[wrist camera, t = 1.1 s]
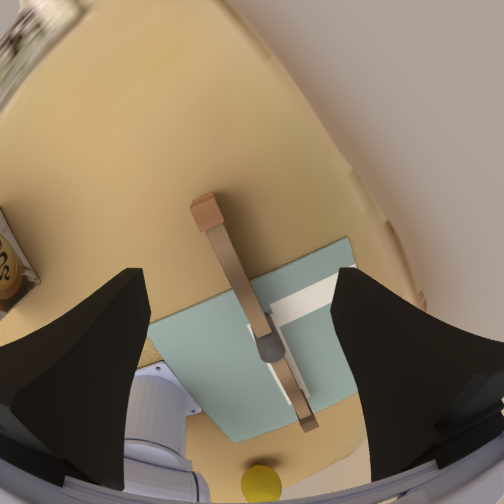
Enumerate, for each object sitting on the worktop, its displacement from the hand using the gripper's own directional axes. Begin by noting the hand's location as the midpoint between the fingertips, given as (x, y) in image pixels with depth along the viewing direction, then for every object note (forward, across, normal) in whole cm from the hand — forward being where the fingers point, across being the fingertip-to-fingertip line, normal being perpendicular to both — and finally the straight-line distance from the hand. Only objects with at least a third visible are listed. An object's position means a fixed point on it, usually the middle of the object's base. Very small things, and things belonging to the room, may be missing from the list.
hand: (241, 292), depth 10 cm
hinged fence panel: (+11, 0, +5) cm, 12 cm away
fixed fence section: (+10, -4, +16) cm, 20 cm away
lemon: (+6, -3, +37) cm, 37 cm away
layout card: (+10, -5, +17) cm, 20 cm away
